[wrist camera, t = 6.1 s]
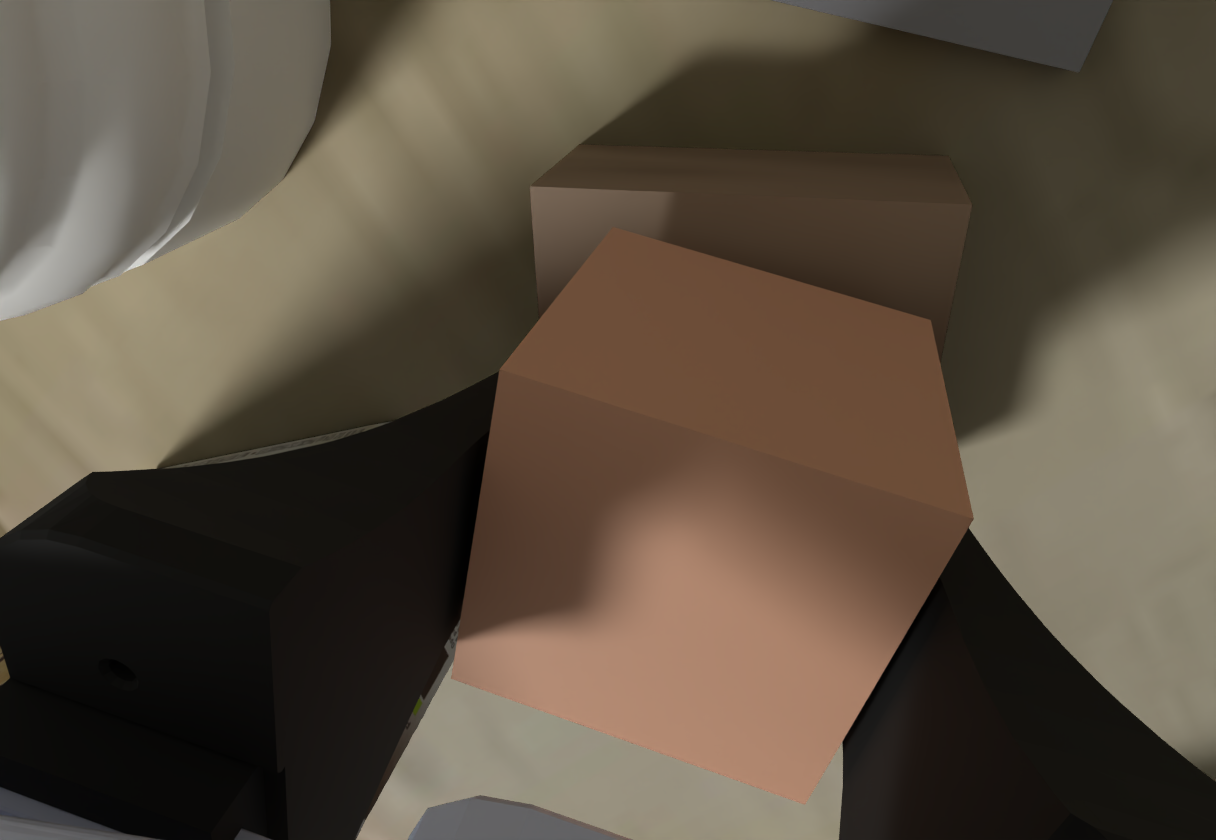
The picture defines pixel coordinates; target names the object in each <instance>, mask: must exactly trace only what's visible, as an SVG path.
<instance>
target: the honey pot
mask: <svg viewBox="0 0 1216 840" xmlns="http://www.w3.org/2000/svg"><path fill="white" fill-rule="evenodd" d="M330 48H331V18H330V0H0V321H1V320H5V319H10V318H14V317H19V316H23V315H26V314H29V313H32V312H34V311H37V310H40V309H43V308H45V307H48V306H51V305H53V304H56V303H59V302H61V301H64V300H67V299H69V298H72V297H75V296H77V295H80V294H83V293H84V292H85V291H86V290H87V289H88V288H90V287H91V286H94V285H96V284H99V283H102V282H104V281H107V280H110V279H112V278H115V277H118V276H120V275H121V274H122V273H123V272H125V271H127V270H130V269H133V268H135V267H138V266H141V265H143V264H145V263H148V262H150V261H152V260H154V259H156V258H158V257H160V256H162V255H164V254H166V253H168V252H171V251H173V250H175V249H177V248H179V247H181V246H183V245H185V244H187V243H189V242H191V241H194V240H196V239H198V238H200V237H202V236H204V235H206V234H208V233H210V232H212V231H214V230H217V229H219V228H221V227H223V226H225V225H227V224H229V223H231V222H233V221H235V220H237V219H239V218H241V217H242V216H243V215H244V214H245V213H246V212H247V211H248V210H250V209H251V208H252V207H253V206H254V205H255V204H256V203H257V202H259V201H260V200H261V199H262V198H263V197H264V196H265V195H266V194H267V193H269V192H270V191H271V190H272V189H273V188H274V187H275V186H276V185H278V184H279V183H280V182H281V181H282V180H283V178H284V177H285V175H286V173H287V171H288V169H289V167H290V166H291V164H292V162H293V160H294V158H295V156H296V155H297V153H298V151H299V149H300V147H301V145H302V144H303V142H304V140H305V138H306V136H307V135H308V133H309V131H310V129H311V127H312V125H313V124H314V122H315V117H316V112H317V108H318V103H319V99H320V94H321V89H322V85H323V80H324V76H325V71H326V66H327V62H328V57H329V53H330Z"/></svg>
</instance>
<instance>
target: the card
mask: <svg viewBox="0 0 1216 840" xmlns="http://www.w3.org/2000/svg"><path fill="white" fill-rule="evenodd" d="M773 1H777V2H781V3H785V4H790V5H794V6H798V7H802V8H807V9H811V10H815V11H819V12H824V13H828V14H832V15H836V16H841V17H845V18H849V19H853V20H858V21H862V22H866V23H870V24H875V25H879V26H883V27H887V28H892V29H896V30H900V31H904V32H909V33H913V34H917V35H921V36H926V37H930V38H934V39H938V40H943V41H947V42H951V43H955V44H960V45H964V46H968V47H972V48H977V49H981V50H985V51H989V52H994V53H998V54H1002V55H1006V56H1011V57H1015V58H1019V59H1023V60H1028V61H1032V62H1036V63H1040V64H1045V65H1049V66H1053V67H1057V68H1062V69H1066V70H1070V71H1074V72H1080V70H1081V68H1082V66H1083V64H1084V62H1085V59H1086V57H1087V55H1088V53H1089V51H1090V49H1091V47H1092V44H1093V42H1094V40H1095V38H1096V36H1097V34H1098V32H1099V30H1100V27H1101V25H1102V23H1103V21H1104V19H1105V17H1106V15H1107V13H1108V10H1109V8H1110V6H1111V4H1112V2H1113V0H773Z"/></svg>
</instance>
